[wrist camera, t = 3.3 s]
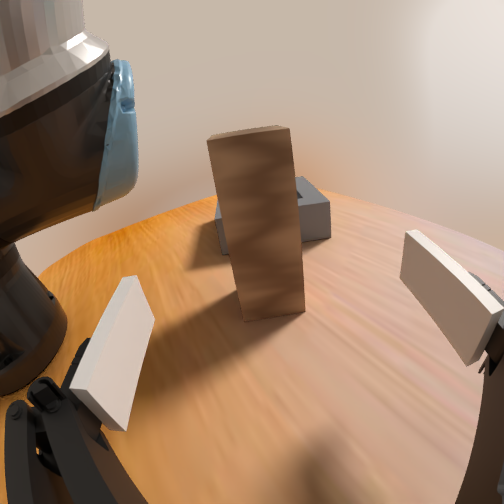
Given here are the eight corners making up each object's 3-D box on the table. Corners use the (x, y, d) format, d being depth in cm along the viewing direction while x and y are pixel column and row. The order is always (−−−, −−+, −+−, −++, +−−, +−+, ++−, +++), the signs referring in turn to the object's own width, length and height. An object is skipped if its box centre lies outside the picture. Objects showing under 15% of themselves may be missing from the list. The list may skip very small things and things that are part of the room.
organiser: (222, 255, 33) (214, 219, 31) (224, 216, 44) (219, 189, 42) (331, 237, 33) (329, 201, 31) (305, 203, 44) (303, 176, 42)
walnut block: (244, 321, 22) (206, 140, 16) (241, 286, 27) (212, 135, 20) (305, 311, 22) (289, 128, 16) (293, 278, 27) (276, 125, 20)
